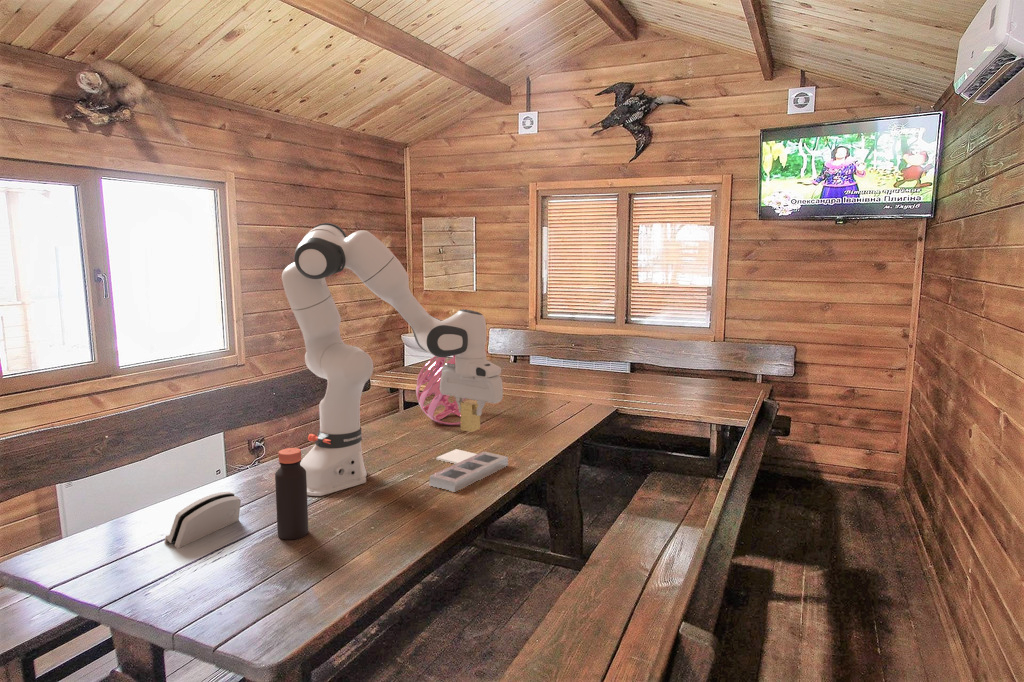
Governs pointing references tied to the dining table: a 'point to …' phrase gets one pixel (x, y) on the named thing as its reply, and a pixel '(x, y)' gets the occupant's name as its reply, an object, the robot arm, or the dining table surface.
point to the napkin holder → (204, 518)
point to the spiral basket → (435, 391)
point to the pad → (455, 456)
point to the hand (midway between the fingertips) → (470, 413)
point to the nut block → (469, 416)
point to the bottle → (291, 495)
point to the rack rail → (468, 471)
